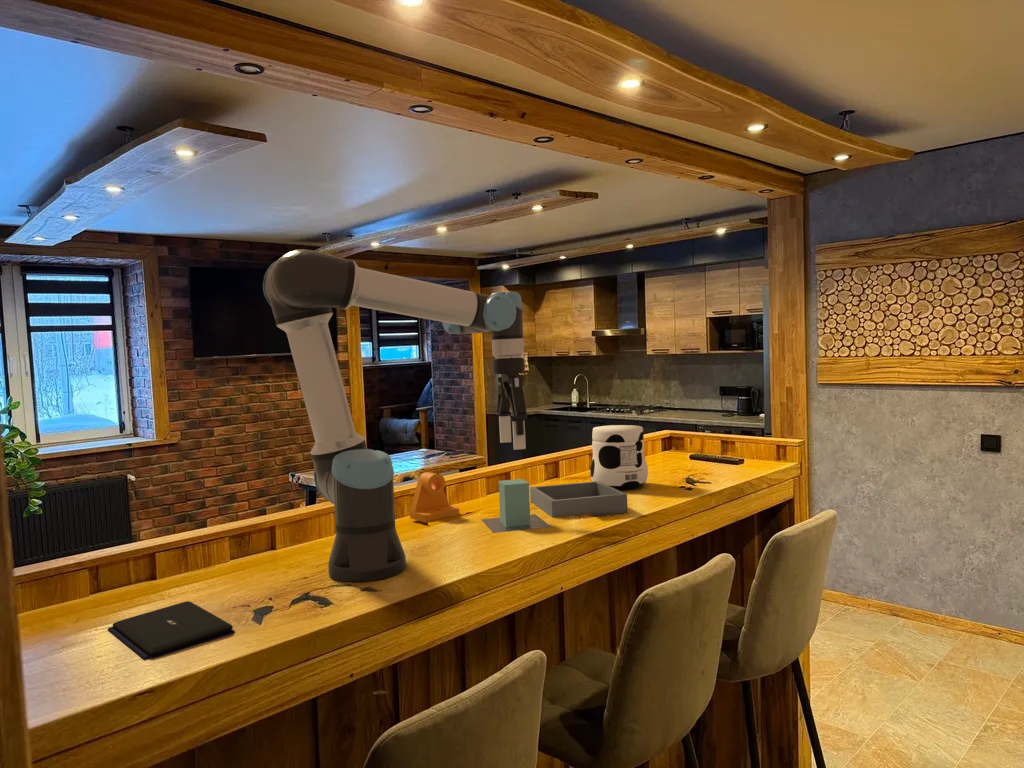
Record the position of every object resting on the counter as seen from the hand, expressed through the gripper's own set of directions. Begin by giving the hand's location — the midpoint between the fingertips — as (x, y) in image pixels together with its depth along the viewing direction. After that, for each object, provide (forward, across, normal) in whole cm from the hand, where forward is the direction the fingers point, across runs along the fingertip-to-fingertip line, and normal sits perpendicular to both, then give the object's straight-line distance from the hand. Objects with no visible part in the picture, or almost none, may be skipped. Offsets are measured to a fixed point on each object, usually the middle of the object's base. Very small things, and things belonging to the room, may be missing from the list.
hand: (512, 445), depth 171 cm
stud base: (+20, 0, 0) cm, 20 cm away
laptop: (+20, -43, +68) cm, 83 cm away
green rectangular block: (+19, 0, 0) cm, 19 cm away
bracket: (+20, +16, +17) cm, 31 cm away
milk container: (+20, +36, -42) cm, 59 cm away
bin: (+20, +12, -20) cm, 30 cm away
